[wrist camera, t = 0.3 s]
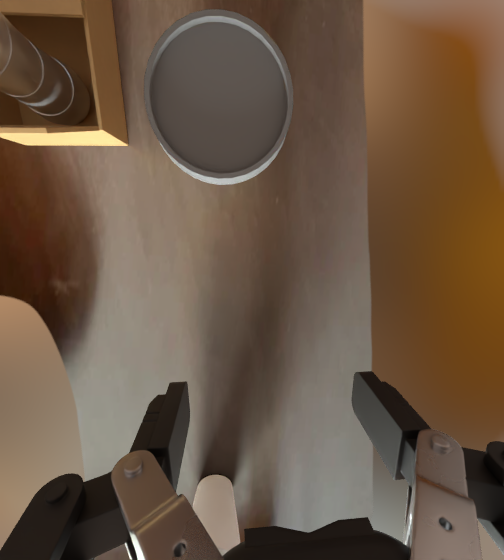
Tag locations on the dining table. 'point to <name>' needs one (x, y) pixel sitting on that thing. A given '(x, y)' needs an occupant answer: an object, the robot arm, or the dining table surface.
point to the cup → (217, 511)
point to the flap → (46, 129)
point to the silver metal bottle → (40, 79)
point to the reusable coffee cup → (218, 96)
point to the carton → (78, 56)
